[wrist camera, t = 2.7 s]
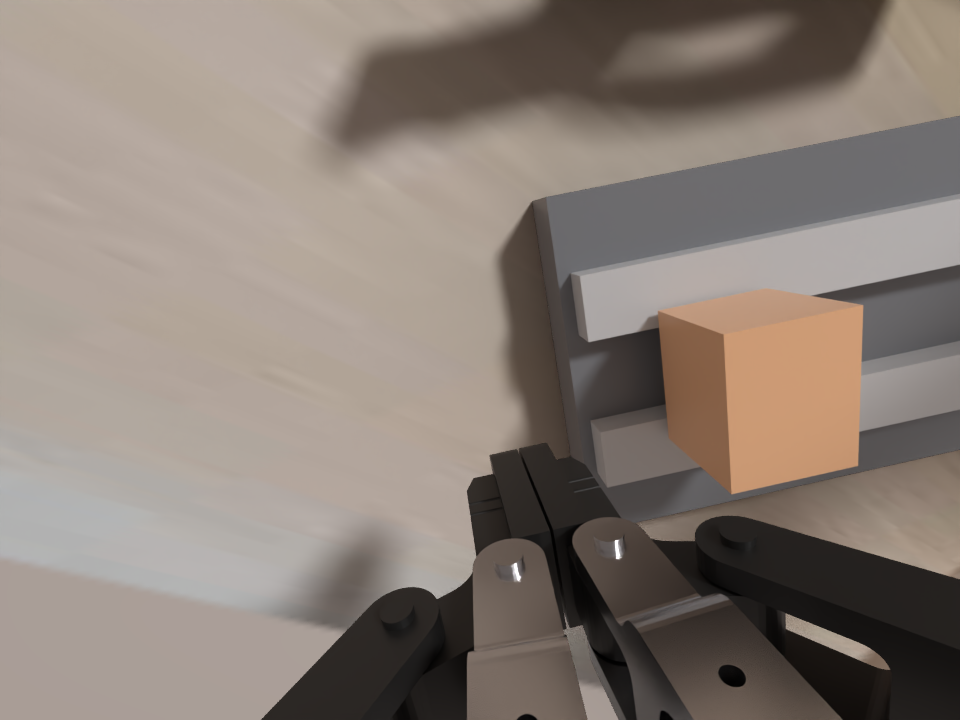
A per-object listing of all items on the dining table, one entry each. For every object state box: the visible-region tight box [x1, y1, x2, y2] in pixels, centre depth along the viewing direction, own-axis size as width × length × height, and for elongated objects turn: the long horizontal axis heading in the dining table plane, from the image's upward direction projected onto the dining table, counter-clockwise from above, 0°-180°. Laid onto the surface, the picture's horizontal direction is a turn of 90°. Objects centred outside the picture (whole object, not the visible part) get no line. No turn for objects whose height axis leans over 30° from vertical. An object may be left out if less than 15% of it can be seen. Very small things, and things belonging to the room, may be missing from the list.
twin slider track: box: [532, 116, 960, 523], centre depth 20 cm, size 26×14×4 cm, turn 101°
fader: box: [658, 288, 863, 494], centre depth 16 cm, size 4×5×5 cm
